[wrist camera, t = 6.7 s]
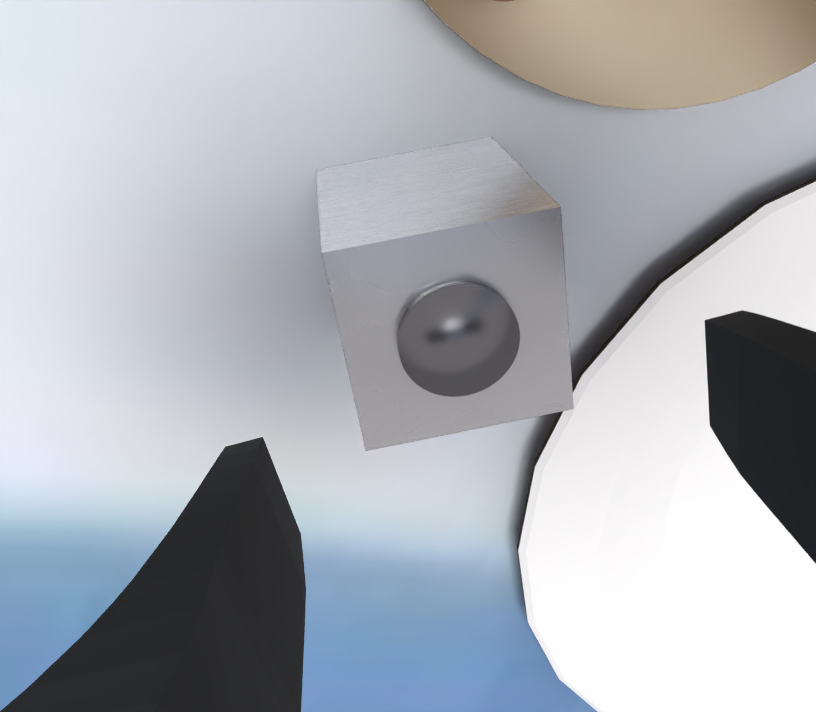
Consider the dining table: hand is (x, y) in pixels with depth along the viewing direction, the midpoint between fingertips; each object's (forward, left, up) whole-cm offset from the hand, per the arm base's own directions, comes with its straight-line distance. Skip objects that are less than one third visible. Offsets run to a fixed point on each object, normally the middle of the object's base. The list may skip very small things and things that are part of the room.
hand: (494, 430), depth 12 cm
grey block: (0, 0, -9) cm, 9 cm away
